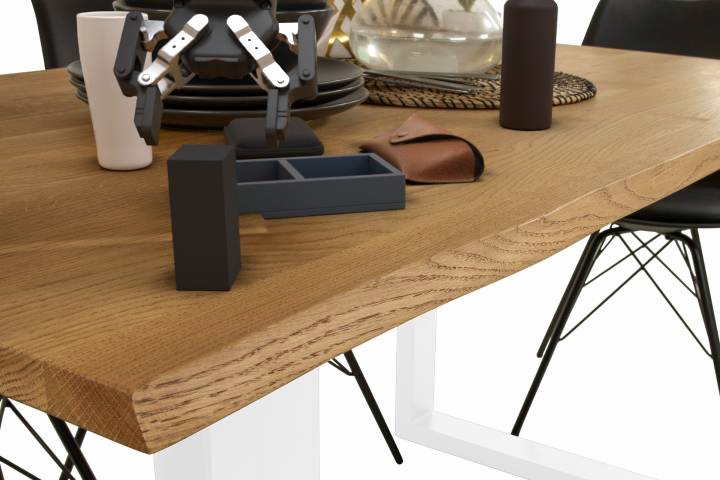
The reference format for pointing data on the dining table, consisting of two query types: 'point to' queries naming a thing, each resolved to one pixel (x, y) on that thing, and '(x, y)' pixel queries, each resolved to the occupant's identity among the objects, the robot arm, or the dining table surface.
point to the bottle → (528, 64)
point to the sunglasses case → (427, 152)
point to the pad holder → (318, 185)
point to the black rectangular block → (204, 216)
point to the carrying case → (254, 144)
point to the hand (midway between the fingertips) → (210, 140)
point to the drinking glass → (110, 92)
